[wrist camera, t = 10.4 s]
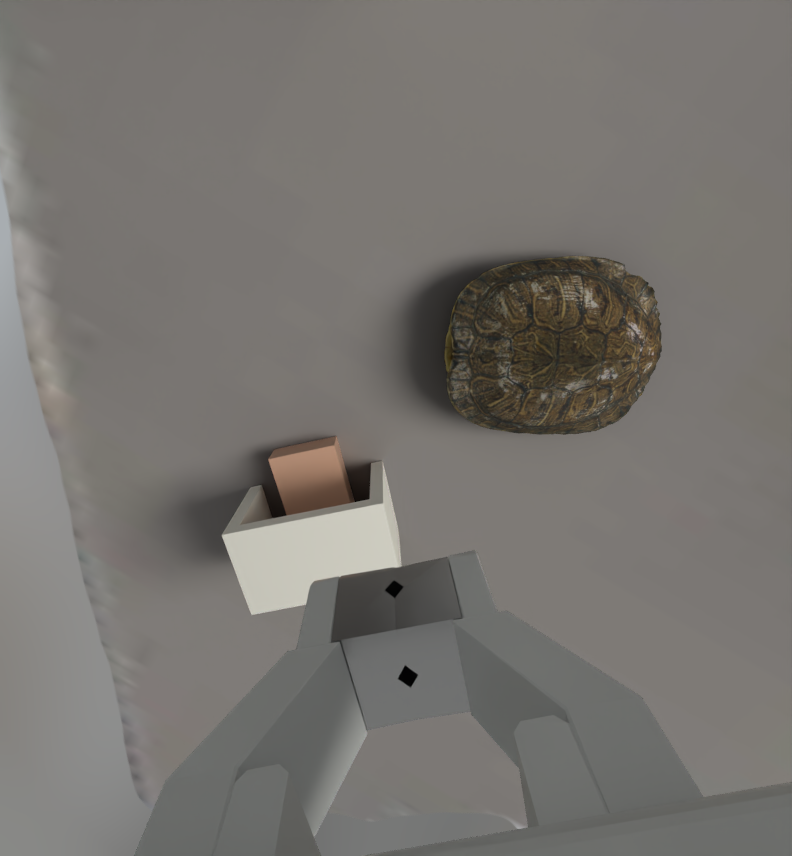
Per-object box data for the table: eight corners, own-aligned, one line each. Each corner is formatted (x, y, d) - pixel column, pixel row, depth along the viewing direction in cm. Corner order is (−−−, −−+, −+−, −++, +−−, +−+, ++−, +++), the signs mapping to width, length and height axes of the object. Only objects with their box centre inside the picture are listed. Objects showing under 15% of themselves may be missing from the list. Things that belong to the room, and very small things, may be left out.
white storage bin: (250, 487, 48) (221, 534, 39) (382, 460, 47) (383, 503, 38) (273, 555, 50) (251, 614, 42) (398, 531, 50) (402, 586, 41)
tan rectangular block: (274, 448, 47) (268, 459, 44) (336, 434, 47) (334, 445, 44) (299, 523, 50) (294, 539, 47) (358, 511, 49) (356, 526, 47)
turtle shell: (668, 448, 42) (461, 464, 38) (605, 417, 50) (429, 426, 46) (714, 258, 36) (479, 250, 32) (635, 259, 45) (439, 252, 40)
